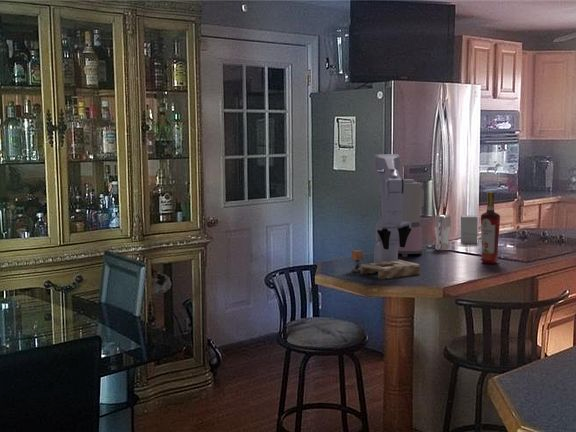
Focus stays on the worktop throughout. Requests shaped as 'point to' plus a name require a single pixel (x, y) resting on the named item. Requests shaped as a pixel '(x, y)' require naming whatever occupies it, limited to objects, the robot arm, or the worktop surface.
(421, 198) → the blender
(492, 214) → the liquor
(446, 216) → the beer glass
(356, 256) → the keyhole peg
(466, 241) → the supplement box
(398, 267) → the keyhole plate
